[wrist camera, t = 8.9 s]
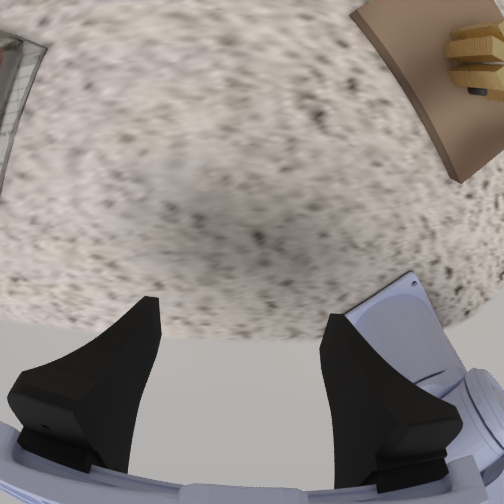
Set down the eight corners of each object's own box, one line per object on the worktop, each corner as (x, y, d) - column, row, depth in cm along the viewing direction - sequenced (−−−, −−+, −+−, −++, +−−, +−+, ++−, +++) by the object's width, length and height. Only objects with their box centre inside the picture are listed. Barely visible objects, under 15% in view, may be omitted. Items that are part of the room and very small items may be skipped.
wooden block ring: (500, 44, 13) (548, 44, 9) (496, 104, 15) (545, 114, 11) (445, 16, 13) (492, 4, 8) (441, 80, 15) (490, 83, 11)
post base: (533, 110, 16) (575, 121, 12) (450, 178, 19) (490, 201, 15) (455, -36, 12) (493, -53, 7) (349, 15, 15) (376, -6, 10)
